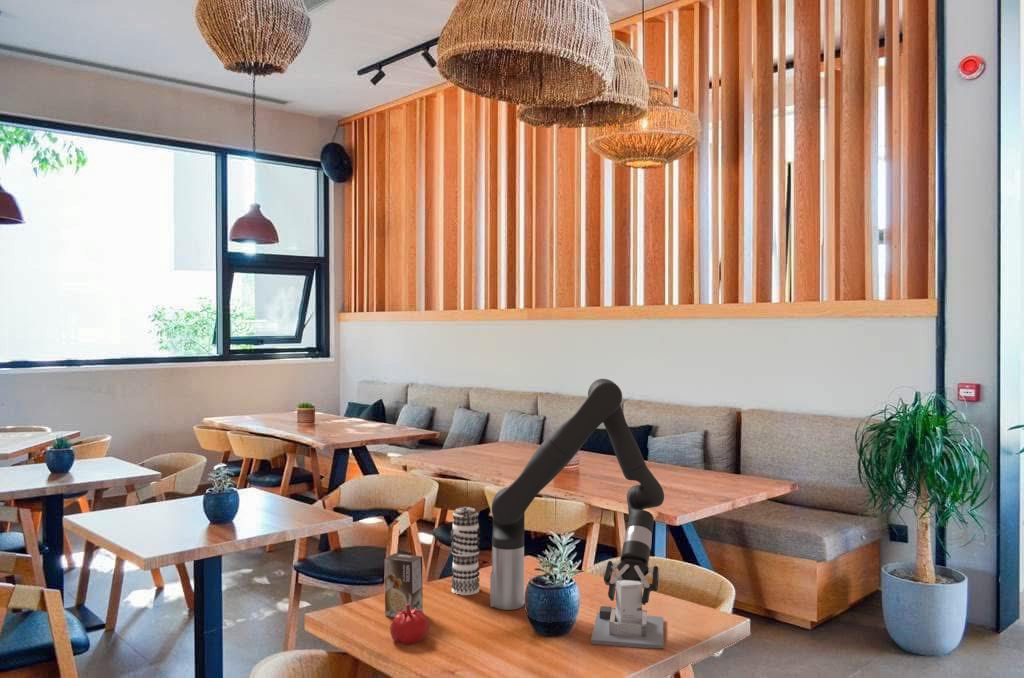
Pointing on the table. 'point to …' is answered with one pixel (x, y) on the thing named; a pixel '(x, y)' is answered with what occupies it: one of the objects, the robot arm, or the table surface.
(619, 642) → the grey holder base
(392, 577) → the coffee box
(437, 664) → the table surface
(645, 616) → the guard collar
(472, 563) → the decorative candle
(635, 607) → the skincare box
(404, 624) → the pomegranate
